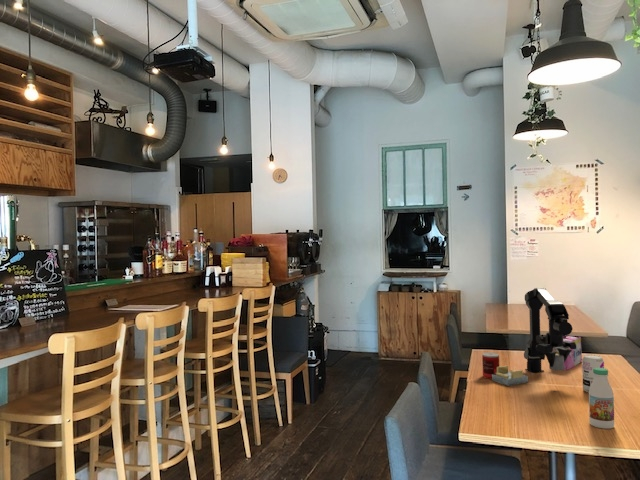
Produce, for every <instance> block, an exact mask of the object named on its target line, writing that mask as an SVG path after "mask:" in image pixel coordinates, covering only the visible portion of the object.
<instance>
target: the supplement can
mask: <svg viewBox="0 0 640 480" xmlns="http://www.w3.org/2000/svg"><path fill="white" fill-rule="evenodd" d="M581 364H582V365H581V366H582V390H583V391H584V392H585V391H586V392H585V393H587V392H588V393H587V394H589V389H590V386H591V384H592V382H593V379H594V375H593V374H594V373H593V369H594V368H605V360H604V359H603V357H602V356H600V355H595V354H594V355H593V354H585V355H583V356H582V362H581Z"/></svg>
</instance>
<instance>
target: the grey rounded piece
mask: <svg viewBox="0 0 640 480" xmlns="http://www.w3.org/2000/svg"><path fill="white" fill-rule="evenodd" d="M548 366H549V370H551V371H558V372H559V371H565V370H564V355H560V354H556V355H555V360H554V364H553V367H550V365H548Z"/></svg>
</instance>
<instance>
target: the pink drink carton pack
mask: <svg viewBox="0 0 640 480" xmlns="http://www.w3.org/2000/svg"><path fill="white" fill-rule="evenodd" d="M563 341H570V342H575V344H576V349H571V348H570V347H569V349H570V350H572V351H571V352H570V354H569V355H568V357H567V359H566V361H565V363H564V370H563V371H569V370H570V369H572V368H574V367H576V366H577V365H579V364H580V362H581V363H582V359H583V355H582V354H583V353H582V337H581V336H578V337H577V336H576V337H575V336H570V334H569V335H565V336H563ZM553 352H555V353H556V354H559V351H558V350H557V349H553Z"/></svg>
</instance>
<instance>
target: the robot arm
mask: <svg viewBox="0 0 640 480" xmlns="http://www.w3.org/2000/svg"><path fill="white" fill-rule="evenodd" d="M524 301H525V305H526V307H527V308H528V311H529V340H528V341H527V343H526V348H525V349H524V352H523V358H524V359H525V360H526V368H525V369H524V371H527V372H529V373H532V374H533V373H534V374H538V373H543V372H545V371H544V370H543V369H542V361H544V360H546V359H547V362H548V364H549V365H550V367H553V364H554V360H555V355H556V353H555V352H553V349H557V350H558V351H559V354H560V355H564V363H565V361H566V359H567V357H568V355H569V354H570V352H571V351H572V350H570V349H569V347H570V348H571V349H576V344H575V342H570V341H563V336H566V335H569V336H570V334H571V333H572V332H573V326H572V324H571V323H570V322H569V321H568V320H569V319H570V314H569V313H568V310H567V308H566V306H565V304H564V303H563V302H561V301H559V300H556V299H554V298H553V297H552V295H550V293H549V292H548V291H547V289H546V288H545V287H534V288H533V289H532V290H529V291H526V292H525V295H524ZM543 306H544V311H545V313H546V315H547V320H548V332H546V334H545V336H543V335H542V334H541V316H540V315H541V312H540V311H541V310H542V307H543ZM545 358H546V359H545ZM549 365H548V366H549Z"/></svg>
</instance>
